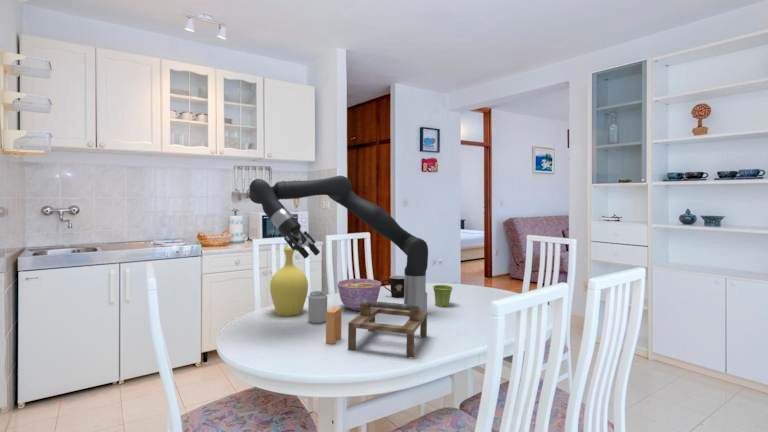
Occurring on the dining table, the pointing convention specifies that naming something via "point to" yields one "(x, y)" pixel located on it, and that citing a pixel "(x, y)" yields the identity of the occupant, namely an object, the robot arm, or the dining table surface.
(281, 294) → the vase
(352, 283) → the bowl of food
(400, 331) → the wooden slider frame
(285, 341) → the dining table surface
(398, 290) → the coffee mug
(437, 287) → the plant pot
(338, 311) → the orange two-legged bench
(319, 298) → the can
